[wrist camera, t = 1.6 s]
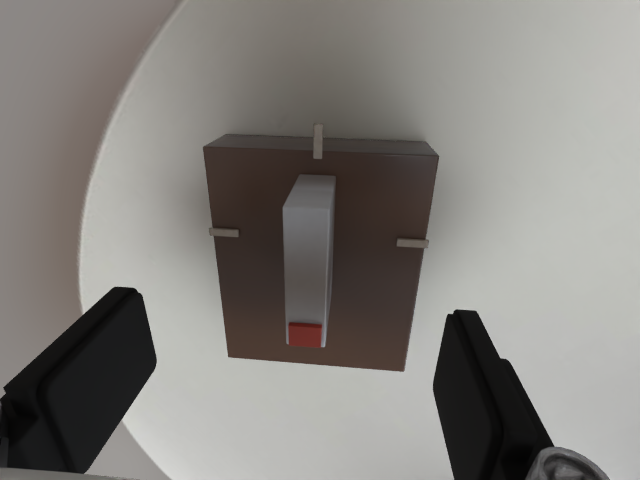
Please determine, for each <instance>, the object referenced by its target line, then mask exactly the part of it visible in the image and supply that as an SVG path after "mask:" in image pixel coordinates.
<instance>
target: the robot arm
mask: <svg viewBox="0 0 640 480" xmlns="http://www.w3.org/2000/svg"><path fill="white" fill-rule="evenodd" d="M156 362H157V359H156V354H155V349H154V345H153V340H152V336H151V332H150V327H149V323H148V318H147V314H146V309H145V305H144V301H143V297H142V295H141V293H138V291H137V290H136V289H135V288H128V287H114V288H112V289H111V290H110V291H109V292H108V293H107V294H106V295H104V296H103V297H102V298H101V299H100V300H99V301H98V302H97V303H96V304H95V305H93V306H92V307H91V308H90V309H89V310H88V311H87V312H86V313H85V314H84V315H82V316H81V317H80V318H79V319H78V320H77V321H76V322H75V323H74V324H73V325H72V326H70V327H69V328H68V329H67V330H66V331H65V332H64V333H63V334H62V335H61V336H59V337H58V338H57V339H56V340H55V341H54V342H53V343H52V344H51V345H50V346H49V347H47V348H46V349H45V350H44V351H43V352H42V353H41V354H40V355H39V356H37V357H36V359H34V360H33V361H32V362H31V363H30V364H29V365H28V366H26V367H25V368H24V369H23V370H22V371H21V372H20V373H19V374H18V375H17V376H16V377H14V378H13V379H12V380H11V381H10V382H9V383H8V384H7V385H6V386H5V387H3V388H4V390H5V392H6V394H5V395H4V396H3V397H2V398H1V399H0V480H138V479H127V478H118V477H107V476H97V475H88V474H84V473H85V472H86V471H87V470H88V469H89V468H90V466H91V465H92V463H93V461H94V460H95V459H96V457H97V456H98V454H99V453H100V451H101V450H102V448H103V446H104V445H105V444H106V442H107V440H108V439H109V437H110V436H111V434H112V433H113V431H114V430H115V428H116V427H117V425H118V424H119V422H120V421H121V419H122V418H123V416H124V415H125V413H126V412H127V410H128V409H129V407H130V406H131V404H132V403H133V401H134V400H135V398H136V397H137V395H138V394H139V392H140V391H141V389H142V388H143V386H144V385H145V383H146V382H147V380H148V379H149V377H150V376H151V374H152V373H153V371H154V369H155V367H156ZM433 392H434V397H435V401H436V405H437V409H438V413H439V418H440V422H441V426H442V430H443V434H444V438H445V443H446V447H447V451H448V455H449V459H450V463H451V468H452V472H453V476H454V480H610V479H609V478H608V476H607V475H606V474H605V473H604V472H603V471H602V470H601V469H600V468H599V467H598V466H597V465H596V464H595V463H593V462H592V461H590V460H589V459H587V458H586V457H585V456H583V455H581V454H579V453H577V452H575V451H573V450H569V449H566V448H562V447H554V445H553V443H552V441H551V439H550V437H549V435H548V433H547V431H546V429H545V428H544V426H543V424H542V422H541V420H540V418H539V416H538V414H537V412H536V410H535V409H534V407H533V405H532V403H531V401H530V399H529V397H528V395H527V393H526V391H525V390H524V388H523V386H522V384H521V382H520V380H519V378H518V376H517V374H516V372H515V370H514V369H513V367H512V365H511V364H510V362H509V361H508V360H506V359H500V357H499V355H498V353H497V351H496V349H495V347H494V345H493V343H492V341H491V339H490V337H489V335H488V333H487V331H486V329H485V327H484V325H483V323H482V321H481V319H480V317H479V315H478V313H477V312H476V311H471V310H455V311H454V313H453V314H448V315H447V318H446V323H445V328H444V332H443V337H442V342H441V347H440V352H439V356H438V361H437V366H436V371H435V376H434V381H433Z"/></svg>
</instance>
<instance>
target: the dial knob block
mask: <svg viewBox="0 0 640 480" xmlns="http://www.w3.org/2000/svg"><path fill="white" fill-rule="evenodd" d="M203 151H204V159H205V167H206V176H207V184H208V192H209V200H210V209H211V217H212V225H213V228H209V233H210V236H214V242H215V250H216V259H217V267H218V275H219V283H220V292H221V300H222V308H223V317H224V325H225V333H226V341H227V350H228V357H232V358H244V359H256V360H268V361H280V362H292V363H304V364H316V365H328V366H340V367H353V368H365V369H377V370H389V371H401V372H404V370H405V364H406V357H407V351H408V345H409V339H410V333H411V327H412V320H413V314H414V308H415V302H416V296H417V290H418V283H419V277H420V271H421V265H422V259H423V253H424V248H428V243H429V241H428V240H426V234H427V228H428V222H429V215H430V209H431V203H432V197H433V191H434V185H435V178H436V172H437V166H438V160H439V156H438V154H437V153H436V152H435V151H434V150H433V149H432V148H431V146H430V145H429V144H428V143H427V142H420V141H393V140H365V139H338V138H323V124H314V138H310V137H283V136H255V135H228V134H226V135H224V136H222V137H220V138H218V139H216V140H215V141H213V142H211V143H209V144H207V145H205V146H204V147H203ZM300 174H305V175H328V176H336V190H335V215H334V241H333V267H332V292H331V301H330V310H329V319H328V327H327V336H326V345H325V347H321V348H315V347H302V346H290V345H289V344H287V343H286V314H285V278H284V243H283V206H284V204H285V202H286V200H287V198H288V196H289V194H290V192H291V190H292V188H293V186H294V184H295V182H296V180H297V179H298V177H299V175H300Z"/></svg>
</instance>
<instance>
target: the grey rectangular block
mask: <svg viewBox="0 0 640 480" xmlns="http://www.w3.org/2000/svg"><path fill="white" fill-rule="evenodd" d="M335 190H336V176H328V175H305V174H300V175H299V177H298V179H297V180H296V182H295V184H294V186H293V188H292V190H291V192H290V194H289V196H288V198H287V200H286V202H285V204H284V206H283V243H284V278H285V314H286V343H287V344H289V345H290V346H302V347H315V348H321V347H325V345H326V336H327V327H328V319H329V310H330V301H331V292H332V267H333V241H334V215H335Z"/></svg>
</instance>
